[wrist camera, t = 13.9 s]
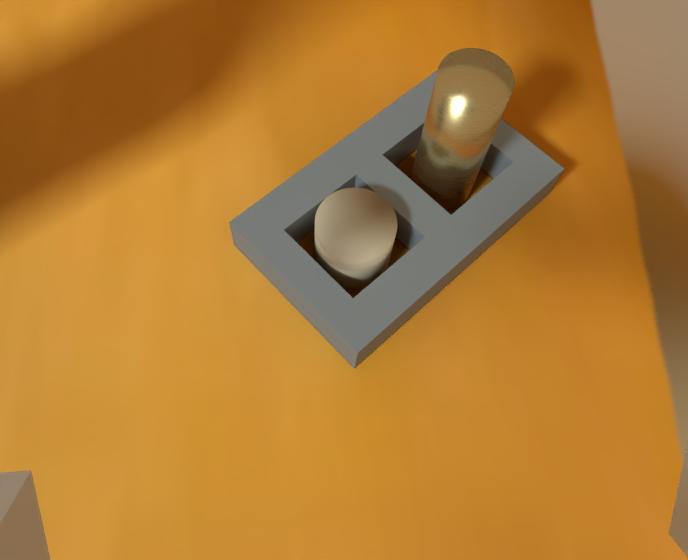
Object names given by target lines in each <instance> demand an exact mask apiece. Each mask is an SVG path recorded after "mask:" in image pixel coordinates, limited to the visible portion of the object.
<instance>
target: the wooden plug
mask: <svg viewBox="0 0 688 560" xmlns="http://www.w3.org/2000/svg"><path fill="white" fill-rule="evenodd" d="M396 232H397V217H396V214H395V211H394V209H393V208H392V206H391V205H390V203H389V202H388V201H387V200H386V199H385V198H383V197H382V196H381V195H379V194H378V193H376V192H374V191H371V190H368V189H364V188H345V189H341V190H338V191H336V192H334V193H332V194H330V195H329V196H328V197H326V198H325V199H324V200H323V202H322V203H321V204H320V206H319V207H318V209H317V212H316V215H315V239H314V259H315V261H316V262H317V263H318V264H319V265H320V266H321V267H322V268H323V269H324V270H325V271H326V272H327V273H328V274H329V275H330V276H331V277H332V278H333V279H334V280H335V281H336V282H337V283H338V284H339V285H340V286H341V287H342V288H346V289H360V288H365V287H367V286H368V285H369V284H371V283H372V282H373V281H374V280H375V279H376V278H378V277H379V276H380V275H381V274H382V273H383V272H385V271H386V270H387V267H388V264H389V260H390V256H391V252H392V248H393V244H394V240H395V236H396Z"/></svg>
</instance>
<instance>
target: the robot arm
mask: <svg viewBox="0 0 688 560" xmlns="http://www.w3.org/2000/svg"><path fill="white" fill-rule="evenodd" d="M669 534H670V536H671V537H672V538H673V539H674V541H675V542H676V543H677V544H678V546H679V547H680V548H681V549H682V551H683V552H684V553H685V554H686V556H687V557H688V442H687V447H686V452H685V457H684V462H683V467H682V472H681V477H680V482H679V486H678V491H677V496H676V501H675V506H674V511H673V516H672V521H671V526H670V531H669ZM0 560H50V556H49V552H48V547H47V542H46V538H45V533H44V528H43V524H42V519H41V514H40V510H39V505H38V500H37V496H36V491H35V486H34V482H33V477H32V473H31V471H21V472H6V473H0Z"/></svg>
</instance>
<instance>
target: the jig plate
mask: <svg viewBox="0 0 688 560" xmlns="http://www.w3.org/2000/svg"><path fill="white" fill-rule="evenodd" d="M437 71H438V70H437ZM437 71H436V72H434V73H433V74H432V75H430V76H429V77H427V78H426V79H425V80H423V81H422V82H421V83H419V84H418V85H417V86H415V87H414V88H412V89H411V90H410V91H408V92H407V93H406V94H404V95H403V96H401V97H400V98H399V99H397V100H396V101H395V102H393V103H392V104H390V105H389V106H388V107H386V108H385V109H384V110H382V111H381V112H380V113H378V114H377V115H375V116H374V117H373V118H371V119H370V120H369V121H367V122H366V123H364V124H363V125H362V126H360V127H359V128H358V129H356V130H355V131H354V132H352V133H351V134H349V135H348V136H347V137H345V138H344V139H343V140H341V141H340V142H338V143H337V144H336V145H334V146H333V147H332V148H330V149H329V150H328V151H326V152H325V153H323V154H322V155H321V156H319V157H318V158H317V159H315V160H314V161H312V162H311V163H310V164H308V165H307V166H306V167H304V168H303V169H302V170H300V171H299V172H297V173H296V174H295V175H293V176H292V177H291V178H289V179H288V180H286V181H285V182H284V183H282V184H281V185H280V186H278V187H277V188H275V189H274V190H273V191H271V192H270V193H269V194H267V195H266V196H265V197H263V198H262V199H260V200H259V201H258V202H256V203H255V204H254V205H252V206H251V207H249V208H248V209H247V210H245V211H244V212H243V213H241V214H240V215H239V216H237V217H236V218H234V219H233V220H232V221H230V222H229V223H230V228H231V233H232V237H233V242H234V245H235V246H236V247H237V248H238V249H239V250H240V251H241V252H242V253H243V254H244V255H245V256H246V257H247V258H248V259H249V260H250V261H251V262H252V263H253V265H254V266H255V267H256V268H257V269H258V270H259V271H260V272H261V273H262V274H263V275H264V276H265V277H266V278H267V279H268V280H269V281H270V282H271V283H272V284H273V285H274V286H275V287H276V288H277V289H278V290H279V291H280V292H281V293H282V294H283V295H284V296H285V297H286V299H287V300H288V301H289V302H290V303H291V304H292V305H293V306H294V307H295V308H296V309H297V310H298V311H299V312H300V313H301V314H302V315H303V316H304V317H305V318H306V319H307V320H308V321H309V322H310V323H311V324H312V325H313V326H314V327H315V328H316V329H317V330H318V331H319V332H320V334H321V335H322V336H323V337H324V338H325V339H326V340H327V341H328V342H329V343H330V344H331V345H332V346H333V347H334V348H335V349H336V350H337V351H338V352H339V353H340V354H341V355H342V356H343V357H344V358H345V359H346V360H347V361H348V362H349V363H350V364H351V365H352V366H353V368H356V367H357V366H358V365H359V364H360V363H361V362H362V361H363V360H364V359H366V358H367V357H368V356H369V355H370V354H371V353H372V352H373V351H374V350H376V349H377V348H378V347H379V346H380V345H381V344H382V343H383V342H384V341H386V340H387V339H388V338H389V337H390V336H391V335H392V334H393V333H394V332H396V331H397V330H398V329H399V328H400V327H401V326H402V325H403V324H404V323H406V322H407V321H408V320H409V319H410V318H411V317H412V316H413V315H414V314H416V313H417V312H418V311H419V310H420V309H421V308H422V307H423V306H424V305H425V304H427V303H428V302H429V301H430V300H431V299H432V298H433V297H434V296H435V295H437V294H438V293H439V292H440V291H441V290H442V289H443V288H444V287H445V286H447V285H448V284H449V283H450V282H451V281H452V280H453V279H454V278H455V277H457V276H458V275H459V274H460V273H461V272H462V271H463V270H464V269H465V268H467V267H468V266H469V265H470V264H471V263H472V262H473V261H474V260H475V259H477V258H478V257H479V256H480V255H481V254H482V253H483V252H484V251H485V250H487V249H488V248H489V247H490V246H491V245H492V244H493V243H494V242H495V241H497V240H498V239H499V238H500V237H501V236H502V235H503V234H504V233H505V232H507V231H508V230H509V229H510V228H511V227H512V226H513V225H514V224H515V223H517V222H518V221H519V220H520V219H521V218H522V217H523V216H524V215H525V214H527V213H528V212H529V211H530V210H531V209H532V208H533V207H534V206H535V205H537V204H538V203H539V202H540V201H541V200H542V199H543V198H544V197H545V196H547V195H548V194H549V193H550V191H551V190H552V188H553V187H554V185H555V183H556V182H557V180H558V178H559V177H560V175H561V174H562V172H563V170H564V168H563V167H562V166H560V165H559V164H558V163H557V162H555V161H554V160H553V159H552V158H550V157H549V156H548V155H547V154H545V153H544V152H543V151H542V150H540V149H539V148H538V147H537V146H535V145H534V144H533V143H531V142H530V141H529V140H528V139H526V138H525V137H524V136H523V135H521V134H520V133H519V132H518V131H516V130H515V129H514V128H513V127H511V126H510V125H509V124H508V123H506V122H505V121H504V120H503V119H501V120H500V122H499V125H498V127H497V130H496V132H495V134H494V137H493V139H492V142H491V144H490V146H489V149H488V151H487V154H486V156H485V158H484V161H483V163H482V166H481V169H482V170H483V171H485V172H486V173H487V174H488V175H489V176H491V177H492V178H493V180H492V181H491V182H489V183H488V184H487V185H486V186H485V187H484V188H482V189H481V190H480V191H479V192H478V193H476V194H475V195H474V196H473V197H472V198H471V199H469V200H468V201H467V202H466V203H465V204H464V205H462V206H461V207H460V208H459V209H458V210H456V211H455V212H454V213H453V214H452V215H451V214H449V213H448V212H447V211H446V210H445V209H444V208H443V207H441V206H440V205H439V204H438V203H437V202H436V201H435V200H433V199H432V198H431V197H430V196H429V195H428V194H427V193H425V192H424V191H423V190H422V189H421V188H420V187H419V186H417V185H416V184H415V183H414V182H413V181H412V180H411V179H410V178H408V177H407V176H406V175H405V174H404V173H403V172H402V171H400V170H399V169H398V168H397V167H396V165H397V164H398V163H400V162H401V161H402V160H404V159H405V158H406V157H407V156H409V155H410V154H411V153H413V152H414V151H415V150H416V149H418V146H419V142H420V138H421V134H422V130H423V126H424V122H425V118H426V114H427V111H428V107H429V103H430V99H431V95H432V91H433V87H434V83H435V79H436V75H437ZM345 188H364V189H368V190H371V191H374V192H376V193H378V194H379V195H381V196H382V197H383V198H385V199H386V200H387V201H388V202H389V203H390V205H391V206H392V208H393V209H394V211H395V214H396V217H397V232H396V236H395V237H396V238H397V239H398V240H399V241H400V242H401V243H402V244H403V245H404V246H405V247H407V248H408V249H409V251H408V252H407V253H406V254H405V255H403V256H402V257H401V258H400V259H399V260H398V261H396V262H395V263H394V264H393V265H392V266H391V267H389V268H388V269H387V270H386V271H385V272H383V273H382V274H381V275H380V276H379V277H378V278H376V279H375V280H374V281H373V282H372V283H371V284H369V285H368V286H367V287H366V288H365V289H363V290H362V291H361V292H360V293H359V294H358V295H356V296H355V297H354V298H352V297H351V296H350V295H349V294H348V293H347V292H346V291H345V290H344V289H343V288H342V287H341V286H340V285H339V284H338V283H337V282H336V281H335V280H334V279H333V278H332V277H331V276H330V275H329V274H328V273H327V272H326V271H325V270H324V269H323V268H322V267H321V266H320V265H319V264H318V263H317V262H316V261H315V260H314V259H313V258H312V257H311V256H310V255H309V254H308V253H307V252H306V251H305V250H304V249H303V248H302V247H301V246H300V245H299V244H298V243H297V242H298V241H300V240H301V239H302V238H303V237H305V236H306V235H307V234H309V233H310V232H311V231H312V230H314V229H315V215H316V212H317V209H318V207H319V206H320V204H321V203H322V202H323V200H324V199H325V198H326V197H328V196H329V195H330V194H332V193H334V192H336V191H338V190H341V189H345Z"/></svg>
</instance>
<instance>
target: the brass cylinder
mask: <svg viewBox="0 0 688 560" xmlns="http://www.w3.org/2000/svg"><path fill="white" fill-rule="evenodd" d="M513 88H514V75H513V72H512V70H511V68H510V67H509V66H508V64H507V63H506V62H505V61H504V60H503V59H501V58H500V57H499V56H497V55H495V54H493V53H491V52H489V51H486V50H482V49H476V48H465V49H460V50H456V51H454V52H452V53H450V54H448V55H447V56H446V57H445V58H444V59H443V60H442V61H441V63H440V65H439V67H438V71H437V75H436V79H435V83H434V87H433V91H432V95H431V99H430V103H429V107H428V111H427V114H426V118H425V122H424V126H423V130H422V134H421V138H420V142H419V146H418V150H417V154H416V158H415V162H414V165H413V169H412V173H411V177H410V179H411V180H412V181H413V182H414V183H415V184H416V185H417V186H419V187H420V188H421V189H422V190H423V191H424V192H425V193H427V194H428V195H429V196H430V197H431V198H432V199H433V200H435V201H436V202H437V203H438V204H439V205H440V206H441V207H443V208H444V209H445V210H451V209H455V208H457V207H459V206H461V205H462V204H463V203H464V202H465V201H466V200H467V198H468V197H469V194H470V192H471V190H472V187H473V185H474V182H475V180H476V178H477V175H478V173H479V170H480V168H481V166H482V163H483V161H484V158H485V156H486V154H487V151H488V149H489V146H490V144H491V142H492V139H493V137H494V134H495V132H496V130H497V127H498V125H499V122H500V120H501V118H502V115H503V113H504V110H505V108H506V106H507V103H508V101H509V98H510V96H511V94H512V91H513Z"/></svg>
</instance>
